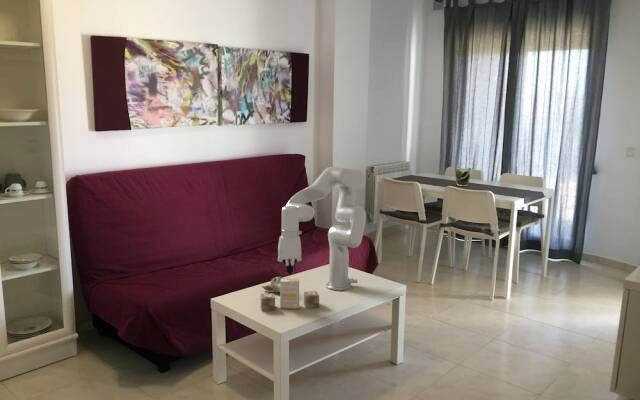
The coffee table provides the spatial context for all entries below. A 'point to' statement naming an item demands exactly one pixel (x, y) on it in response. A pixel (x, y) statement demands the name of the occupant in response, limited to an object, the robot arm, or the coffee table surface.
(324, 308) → the coffee table surface
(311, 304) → the walnut block
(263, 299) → the walnut block
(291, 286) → the supplement box
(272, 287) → the ceramic sculpture
